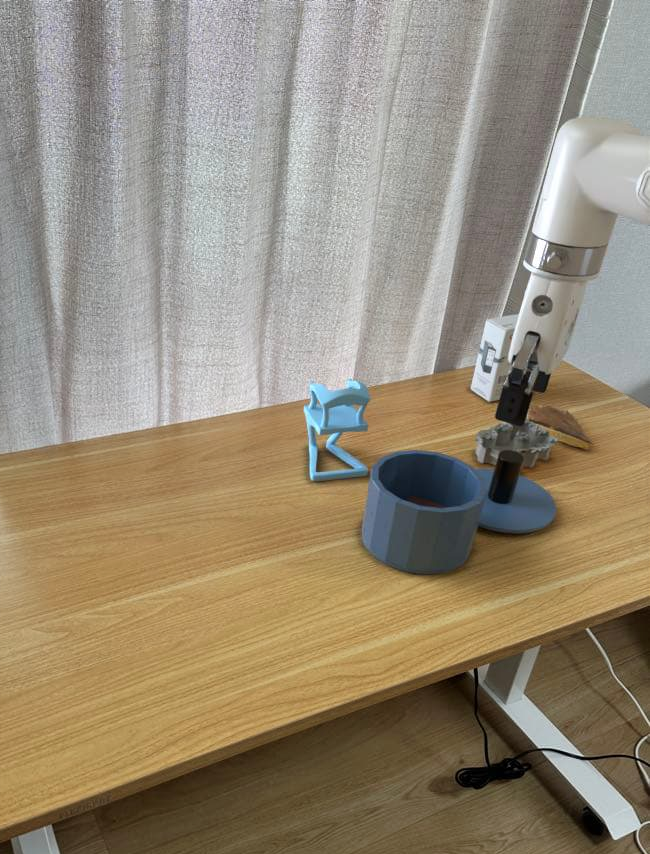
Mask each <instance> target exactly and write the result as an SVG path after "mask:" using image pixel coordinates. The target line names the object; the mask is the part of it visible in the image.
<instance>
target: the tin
mask: <svg viewBox="0 0 650 854" xmlns="http://www.w3.org/2000/svg"><path fill="white" fill-rule="evenodd" d="M476 469H477V468H475V467H473V466H472V465H470V464H469V463H467V462H465V461H464V460H461V459H459V458H458V457H456V456H451V455H448V454H445V453H442V452H438V451H430V450H420V449H410V450H400V451H399V450H398V451H394V452H391V453H389V454H385V455H384V456H381V457H379V459H378V460H377V461H376V462H375V463H374V464H373V465H372V466H371V469H370V470H371V471H370V476H369V482H368V487H367V495H366V501H365V507H364V512H363V519H362V527H361V539H362V543H363V545H364V546H365V548H366V550H367V551H368V552H369V553H370V554H371V555H372V556H373V557H374V558H375V559H377V560H378V561H380V562H381V563H383V564H385V565H387V566H388V567H391V568H392V569H393V568H394V569H396V570H399V571H403V572H407V573H411V574H418V575H437V574H439V575H440V574H444V573H448V572H451V571H454V570H456V569H457V568H460V567H461V566H462V565H463V564H464V563H465V562H466V561H467V560H468V559H469V556H470V553H471V552H472V550H473V546H474V543H475V539H476V535H477V531H478V529H479V526H478V524H479V521H480V517H481V513H482V510H483V506H484V502H485V499H486V495H487V488H486V483H485V479H484V478H483V477H482V476H481V475H480V474H479V473H478V471H477V470H476ZM412 496H416V497H419V498H422V499H425V500H427V501H430V502H433V503H436V504H439V505H442V506H445V508H435V507H426V506H419V505H416V504H414V503H411V502H408V500H409V499H410V498H411V497H412Z"/></svg>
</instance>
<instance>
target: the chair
mask: <svg viewBox="0 0 650 854" xmlns="http://www.w3.org/2000/svg"><path fill="white" fill-rule="evenodd" d="M346 386H347V387H346V388H342V389H338V390H329V389H328V388H327V387H326V386H325V385H324V384H323V383H315V381H309V392H310V403H309V404H306V405H304V406H303V413H304V416H305V421H306V427H307V434H308V441H309V442H308V443H309V444H308V451H309V476H310V477H309V478H310V480H311V481H312V482H323V481H331V480H332V481H333V480H340V479H350V478H359V477H366V476H367V475H368V472H369V468H368V467H367V466H366V465H365V464H364V463H363V462H362V461H360V460H359V459H357V458H356V457H355V456H353V455H352V454H350V453H348V452H347V451H346V450H344V449H343V448H342V447H340V446H339V445H338V444H337V442H338V440H339V439H340V437H342V435H343V434H344V433H349V432H350V433H361V432H368V430H369V424H368V423H367V421H366V420H365V419H364V413H365V410H366V409H367V407H368V405H369V403H370V401H371V396H370V391H369V389H368V387H367V385H366V384H365V383H364V382H362V381H358V380H353V379H351V378H347V384H346ZM318 402H319V403H320V404H318ZM355 406H360V407H359V408H358V410H357V409H356V407H355ZM316 432H317V434H318V435H319V436H329V435H330V437H329V438H328V439H327V440H326V445H325V448H326V449H327V450H328V451H329V452H331V454H333V455H334V456H336V457H337V458H339V459H340V460H341V461H343V462H345V463H346V464H348V465H349V466H350V467H352V468H350V469H341V470H330V471H320V472H317V462H318V442H317V436H316Z"/></svg>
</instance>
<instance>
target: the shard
mask: <svg viewBox="0 0 650 854" xmlns="http://www.w3.org/2000/svg"><path fill="white" fill-rule="evenodd" d="M526 419H527V420H528V421H529V422H534V423H535V424H536V425H538V426H540V427H541V428H542V429H543V430H548V431H549V435H550V436H551V437H553V438H555V437H558V439H559V440H558V441H557V442H561V443H564V444H566V445H569V446H572V447H575V448H580V449H584V450H587V451H588V450H590V447H591V446H594V443H593V442H592V441H591V440H590V438H589V437H588V436H587V435H586V433H585V432H584V430H583V428H582V427H581V425H580V424H579V422H578V420H577V419H576V418H575V417H574V415H572V414H571V413H570V411H569V410H568V409H565V408H561V407H558V406H555V405H534V404H530V407H529V410H528V413H527V417H526Z"/></svg>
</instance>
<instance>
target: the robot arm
mask: <svg viewBox="0 0 650 854" xmlns="http://www.w3.org/2000/svg"><path fill="white" fill-rule="evenodd" d="M618 215H619V216H621V217H624V218H626V219H628V220H630V221H633V222H636V223H638V224H642V225H645V226H648V227H649V226H650V135H647V134H646V135H645V134H640V131H639V130H638V129H637V127H636V126H634V125H633V124H630V123H628V122H626V121H621V120H618V119H613V118H606V117H596V116H581V117H575V118H570V119H568V120H567V121H565V122H564V123H563V124H562V125H561V126H560V128H559V130H558V131H557V134H556V137H555V140H554V143H553V148H552V151H551V155H550V159H549V163H548V167H547V171H546V173H545V177H544V182H543V186H542V189H541V192H540V197H539V201H538V205H537V209H536V214H535V216H534V221H533V226H532V227H531V228H532V229H531V231H530V232H531V233H530V235H529V239H528V243H527V247H526V249H525V254H524V257H523V258H524V259H523V262H522V264H523V267H524V268H525V269H526V270H528V271H529V272H531V273H530V276H529V278H528V281H527V285H526V289H525V291H524V295H523V299H522V303H521V306H520V308H519V309H520V310H519V312H518V314H519V316H518V319H517V323H516V327H515V330H514V334H513V338H512V342H511V346H510V350H509V355H508V361H509V363H510V364H511V365H512V366H511V368H510V371H509V374H508V376H507V379H506V381H505V384H504V386H503V388H502V392H501V396H500V399H499V400H498V403H497V406H496V411H495V414H494V418H495V420H496V421H500V422H502V423H505V422H507V423H510V424H514V425H517V426H523V424H524V423H525V420H526V419H527V413H528V410H529V407H530V405H531V403H532V400H533V396H534V392H537V393H540V394H544V393H545V392H546V391H547V389H548V386H549V382H550V378H551V376H552V374H553V373H554V372H555V370H557V368H558V366H559V365H560V364H561V362H562V361H563V359H564V358H565V356H566V354H567V352H568V351H569V349H570V346H571V343H572V341H573V340H572V339H573V335H574V332H575V328H576V324H577V320H578V317H579V313H580V310H581V307H582V303H583V300H584V296H585V292H586V288H587V285H588V282H589V281H593V280H595V279H598V277H599V275H600V271H601V269H602V265H603V262H604V259H605V256H606V252H607V249H608V246H609V242H610V240H611V237H612V234H613V230H614V228H615V225H616V221H617V218H618Z"/></svg>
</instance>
